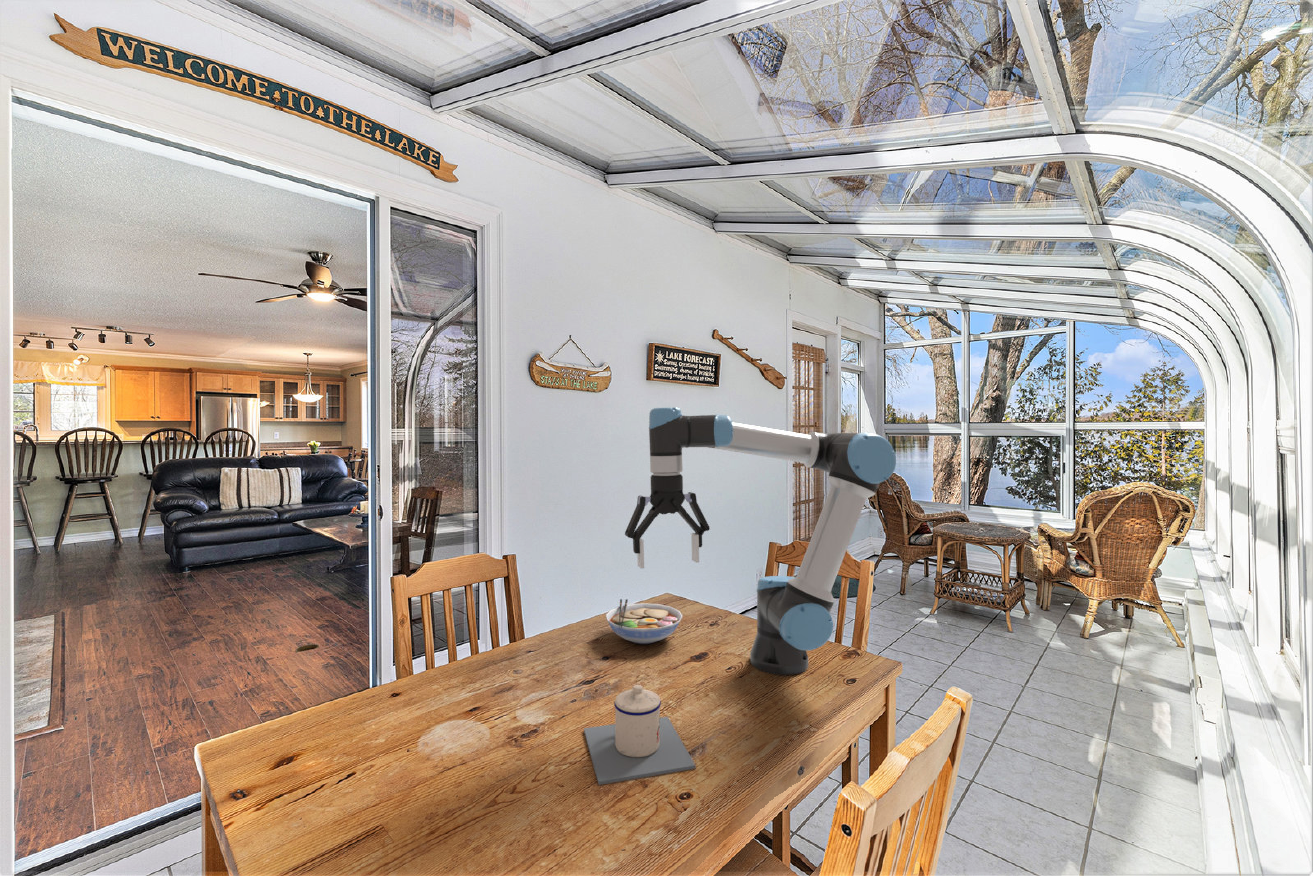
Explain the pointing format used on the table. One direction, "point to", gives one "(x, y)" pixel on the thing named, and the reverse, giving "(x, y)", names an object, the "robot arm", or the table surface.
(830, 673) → the table surface
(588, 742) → the slate mat
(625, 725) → the teacup with lid
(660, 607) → the ramen bowl
